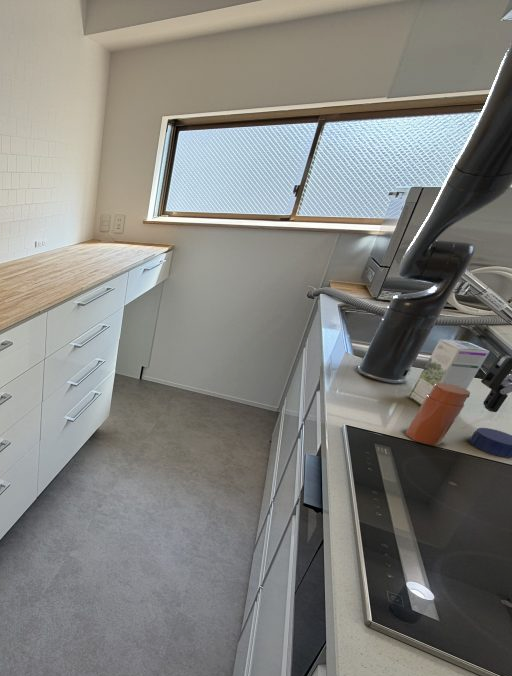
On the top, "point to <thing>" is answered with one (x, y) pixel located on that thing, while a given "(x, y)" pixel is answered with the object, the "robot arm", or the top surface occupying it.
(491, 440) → the jar lid
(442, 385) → the jam jar
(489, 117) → the robot arm
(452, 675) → the top surface
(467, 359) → the syrup box
